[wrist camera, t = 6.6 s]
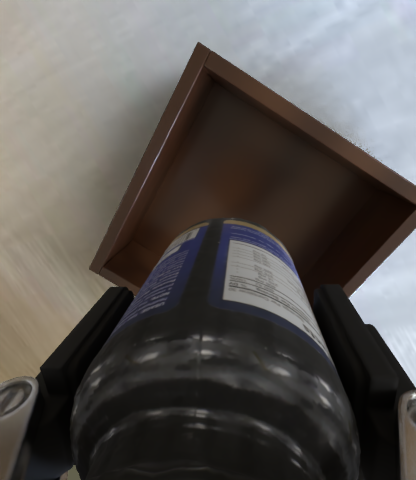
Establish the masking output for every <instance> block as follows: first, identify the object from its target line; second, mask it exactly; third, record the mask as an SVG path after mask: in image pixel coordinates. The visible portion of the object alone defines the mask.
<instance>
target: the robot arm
mask: <svg viewBox="0 0 416 480" xmlns="http://www.w3.org/2000/svg"><path fill="white" fill-rule="evenodd" d="M133 300H134V295H133V292H132V291H129V290H128V288H127V287H110V288H109V289H108V290H107V291H106V292H105V293H104V295H103V296H102V297H101V298H100V299H99V300H98V301H97V303H96V304H95V305H94V306H93V307H92V308H91V309H90V311H89V312H88V313H87V314H86V315H85V316H84V318H83V319H82V320H81V321H80V322H79V323H78V324H77V326H76V327H75V328H74V329H73V330H72V331H71V333H70V334H69V335H68V336H67V337H66V338H65V339H64V341H63V342H62V343H61V344H60V345H59V346H58V347H57V349H56V350H55V351H54V352H53V353H52V354H51V356H50V357H49V358H48V359H47V360H46V361H45V362H44V364H43V365H42V366H41V367H40V370H41V372H40V373H39V374H38V375H37V377H36V378H33V377H28V376H22V377H16V378H13V379H10V380H7V381H5V382H3V383H1V384H0V480H67V477H68V470H70V469H71V468H72V467H73V465H75V461H74V459H73V455H72V451H71V439H70V425H71V424H70V418H71V413H72V408H73V404H74V397H75V395H76V391H77V389H78V387H79V385H80V384H81V381H82V379H83V377H84V375H85V373H86V371H87V369H88V367H89V366H90V364H91V362H92V361H93V359H94V358H95V357H96V355H97V354H98V353H99V351H100V350H101V349H102V347H103V345H104V344H105V343H106V341H107V340H108V338H109V336H110V335H111V333H112V332H113V330H114V329H115V327H116V326H117V324H118V323H119V321H120V320H121V318H122V317H123V315H124V314H125V312H126V310H127V309H128V307H129V306H130V304H131V302H132V301H133ZM313 313H314V316H315V318H316V321H317V323H318V326H319V328H320V330H321V333H322V336H323V338H324V340H325V343H326V345H327V348H328V350H329V353H330V355H331V358H332V360H333V363H334V365H335V368H336V370H337V372H338V375H339V377H340V380H341V382H342V385H343V387H344V390H345V392H346V394H347V396H348V399H349V401H350V403H351V406H352V410H353V412H354V415H355V418H356V425H357V428H358V432H359V442H360V450H361V453H360V465H359V476H358V479H357V480H416V387H415V386H414V384H413V383H412V381H411V380H410V379H409V377H408V376H407V374H406V373H405V371H404V370H403V368H402V367H401V365H400V364H399V362H398V361H397V359H396V358H395V356H394V355H393V353H392V352H391V350H390V349H389V347H388V346H387V344H386V343H385V342H384V340H383V339H382V337H381V336H380V334H379V333H378V331H377V330H376V328H375V327H374V326H373V325H371V324H364V322H363V321H362V319H361V317H360V316H359V314H358V313H357V311H356V310H355V308H354V306H353V305H352V303H351V302H350V300H349V298H348V297H347V295H346V294H345V292H344V291H343V289H342V287H341V286H340V285H339V284H326V285H321V286H320V289H315V290H314V303H313Z"/></svg>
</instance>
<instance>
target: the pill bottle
mask: <svg viewBox="0 0 416 480" xmlns="http://www.w3.org/2000/svg"><path fill="white" fill-rule="evenodd" d="M70 424H71V425H70V439H71V451H72V455H73V459H74V461H75V465H76V469H77V471H78V473H79V476H80V479H81V480H357V479H358V476H359V465H360V453H361V450H360V442H359V432H358V428H357V425H356V418H355V415H354V412H353V410H352V406H351V403H350V401H349V399H348V396H347V394H346V392H345V390H344V387H343V385H342V382H341V380H340V377H339V375H338V372H337V370H336V368H335V365H334V363H333V360H332V358H331V355H330V353H329V350H328V348H327V345H326V343H325V340H324V338H323V336H322V333H321V330H320V328H319V326H318V323H317V321H316V318H315V316H314V313H313V311H312V308H311V305H310V303H309V301H308V298H307V296H306V293H305V291H304V288H303V286H302V283H301V281H300V279H299V276H298V274H297V271H296V269H295V266H294V263H293V260H292V258H291V256H290V254H289V252H288V251H287V249H286V247H285V246H284V244H283V243H282V242H281V241H280V240H279V239H278V238H277V237H276V236H274V235H273V234H272V233H271V232H270V231H268V230H267V229H266V228H265V227H263V226H261V225H260V224H258V223H255V222H251V221H248V220H244V219H240V218H213V219H208V220H203V221H201V222H198V223H196V224H194V225H191V226H190V227H189V228H187V229H186V230H184V231H182V232H181V233H180V234H179V235H178V236H177V237H176V238H175V239H174V240H173V241H172V243H171V244H170V245H169V247H168V248H167V250H166V251H165V252H164V254H163V256H162V257H161V259H160V260H159V262H158V263H157V265H156V266H155V267H154V269H153V271H152V272H151V274H150V275H149V277H148V278H147V280H146V281H145V283H144V284H143V286H142V287H141V289H140V290H139V292H138V294H137V295H136V297H135V298H134V300H133V301H132V302H131V304H130V306H129V307H128V309H127V310H126V312H125V314H124V315H123V317H122V318H121V320H120V321H119V323H118V324H117V326H116V327H115V329H114V330H113V332H112V333H111V335H110V336H109V338H108V340H107V341H106V343H105V344H104V345H103V347H102V349H101V350H100V351H99V353H98V354H97V355H96V357H95V358H94V359H93V361H92V362H91V364H90V366H89V367H88V369H87V371H86V373H85V375H84V377H83V379H82V381H81V384H80V385H79V387H78V389H77V391H76V395H75V397H74V404H73V408H72V413H71V418H70Z"/></svg>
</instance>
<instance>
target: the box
mask: <svg viewBox="0 0 416 480" xmlns="http://www.w3.org/2000/svg"><path fill="white" fill-rule="evenodd" d="M213 218H240V219H244V220H248V221H251V222H255V223H258V224H260V225H261V226H263V227H265V228H266V229H267V230H268V231H270V232H271V233H272V234H273V235H274V236H276V237H277V238H278V239H279V240H280V241H281V242H282V243H283V244H284V246H285V247H286V249H287V251H288V252H289V254H290V256H291V258H292V260H293V263H294V266H295V269H296V271H297V274H298V276H299V279H300V281H301V283H302V286H303V288H304V291H305V293H306V296H307V298H308V301H309V303H310V305H311V308H312V311H313V303H314V290H315V289H320V286H321V285H326V284H339V285H340V286H341V287H342V289H343V291H344V292H345V294H346V295H347V297H348V298H350V297H351V295H352V294H353V293H354V292H355V291H356V290H357V289H358V288H359V287H360V286H361V285H362V284H363V283H364V282H365V281H366V280H367V279H368V278H369V277H370V276H371V275H372V274H373V272H374V271H375V270H376V269H377V268H378V267H379V266H380V265H381V264H382V263H383V262H384V261H385V260H386V259H387V258H388V257H389V256H390V255H391V254H392V253H393V252H394V251H395V249H396V248H397V247H398V246H399V245H400V244H401V243H402V242H403V241H404V240H405V239H406V238H407V237H408V236H409V235H410V234H411V233H412V232H413V231H414V230H415V229H416V185H414V184H413V183H411V182H410V181H408V180H407V179H405V178H404V177H402V176H401V175H399V174H398V173H396V172H395V171H393V170H391V169H390V168H388V167H387V166H385V165H384V164H382V163H381V162H379V161H378V160H376V159H375V158H373V157H372V156H370V155H369V154H367V153H366V152H364V151H363V150H361V149H360V148H358V147H357V146H355V145H354V144H352V143H351V142H349V141H348V140H346V139H345V138H343V137H342V136H340V135H339V134H337V133H336V132H334V131H333V130H331V129H330V128H328V127H327V126H325V125H324V124H322V123H321V122H319V121H318V120H316V119H314V118H313V117H311V116H310V115H308V114H307V113H305V112H304V111H302V110H301V109H299V108H298V107H296V106H295V105H293V104H292V103H290V102H289V101H287V100H286V99H284V98H283V97H281V96H280V95H278V94H277V93H275V92H274V91H272V90H271V89H269V88H268V87H266V86H265V85H263V84H262V83H260V82H259V81H257V80H256V79H254V78H253V77H251V76H250V75H248V74H247V73H245V72H244V71H242V70H240V69H239V68H237V67H236V66H234V65H233V64H231V63H230V62H228V61H227V60H225V59H224V58H222V57H221V56H219V55H218V54H216V53H215V52H213V51H211V50H210V49H209V48H207V47H206V46H204V45H203V44H201V43H200V42H198V43H197V45H196V47H195V49H194V51H193V53H192V55H191V57H190V59H189V61H188V63H187V66H186V68H185V70H184V72H183V74H182V76H181V78H180V80H179V82H178V84H177V86H176V88H175V91H174V93H173V95H172V97H171V99H170V101H169V103H168V105H167V107H166V109H165V111H164V113H163V116H162V118H161V120H160V122H159V124H158V126H157V128H156V130H155V132H154V134H153V136H152V138H151V140H150V143H149V145H148V147H147V149H146V151H145V153H144V155H143V157H142V159H141V161H140V163H139V165H138V168H137V170H136V172H135V174H134V176H133V178H132V180H131V182H130V184H129V186H128V188H127V190H126V193H125V195H124V197H123V199H122V201H121V203H120V205H119V207H118V209H117V211H116V213H115V215H114V218H113V220H112V222H111V224H110V226H109V228H108V230H107V232H106V234H105V236H104V238H103V240H102V242H101V245H100V247H99V249H98V251H97V253H96V255H95V257H94V259H93V261H92V263H91V265H90V267H89V269H90V270H92V271H93V272H95V273H97V274H99V275H100V276H102V277H104V278H105V279H107V280H109V281H110V282H112V283H114V284H116V285H117V286H119V287H127V288H128V290H129V291H132V292H133V295H134V296H136V295H137V294H138V292H139V290H140V289H141V287H142V286H143V284H144V283H145V281H146V280H147V278H148V277H149V275H150V274H151V272H152V271H153V269H154V267H155V266H156V265H157V263H158V262H159V260H160V259H161V257H162V256H163V254H164V252H165V251H166V250H167V248H168V247H169V245H170V244H171V243H172V241H173V240H174V239H175V238H176V237H177V236H178V235H179V234H180V233H181V232H182V231H184V230H186V229H187V228H189V227H190V226H191V225H194V224H196V223H198V222H201V221H203V220H208V219H213Z"/></svg>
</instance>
